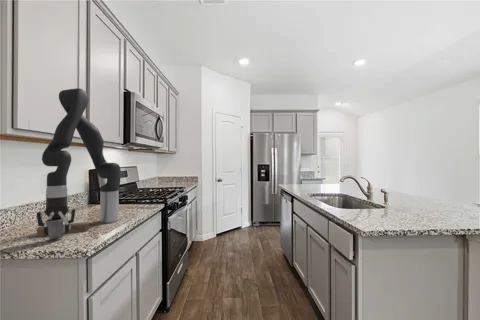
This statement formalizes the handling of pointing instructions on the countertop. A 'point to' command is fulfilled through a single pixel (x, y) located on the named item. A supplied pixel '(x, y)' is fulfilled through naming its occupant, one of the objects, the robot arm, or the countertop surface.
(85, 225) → the banded brown beam
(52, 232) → the pipe
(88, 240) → the countertop surface
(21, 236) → the countertop surface
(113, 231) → the countertop surface
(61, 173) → the robot arm
